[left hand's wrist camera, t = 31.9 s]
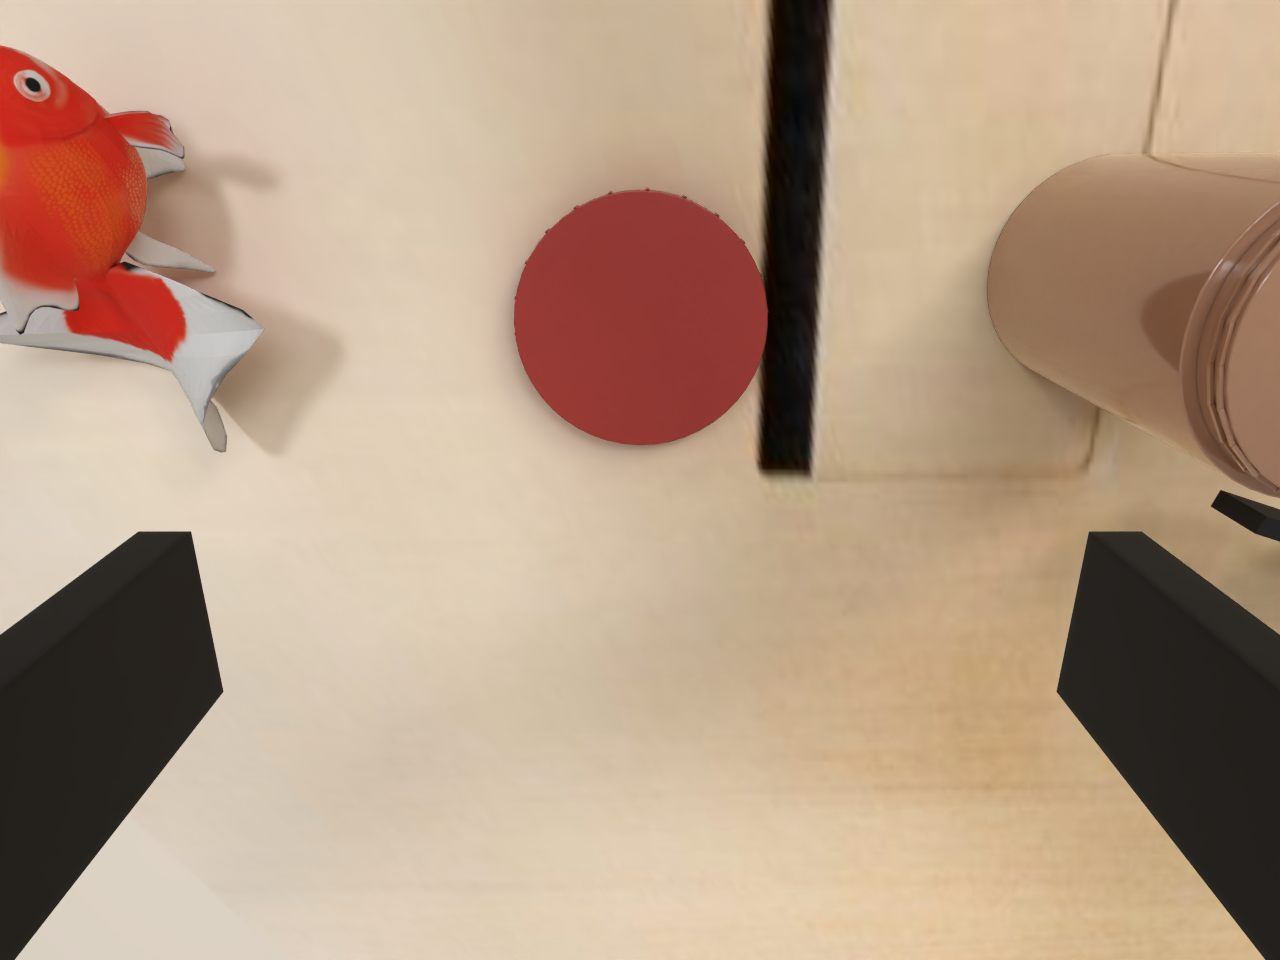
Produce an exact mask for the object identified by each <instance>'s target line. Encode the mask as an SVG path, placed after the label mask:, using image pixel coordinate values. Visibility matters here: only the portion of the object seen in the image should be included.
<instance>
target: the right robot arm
mask: <svg viewBox="0 0 1280 960" xmlns="http://www.w3.org/2000/svg"><path fill="white" fill-rule="evenodd" d="M1211 507H1213V508H1214V509H1216V510H1218V511H1219V512H1221V513H1222V514H1224V515H1226V516H1227V517H1229V518H1231V519H1232V520H1234V521H1236V522H1237V523H1239V524H1240V525H1242V526H1244V527H1245V528H1247V529H1249V530H1250V531H1252V532H1254V533H1255V534H1258V535H1261V536H1264V537H1268V538H1271V539H1274V540H1277V541H1280V510H1279V509H1276V508H1273V507H1270V506H1267V505H1264V504H1261V503H1258V502H1255V501H1252V500H1249V499H1246V498H1243V497H1240V496H1237V495H1234V494H1231V493H1228V492H1225V491H1222V490H1220V492H1219V494H1218V495H1217V497H1216V499H1215V500H1214V502H1213V503H1212V505H1211Z"/></svg>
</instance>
